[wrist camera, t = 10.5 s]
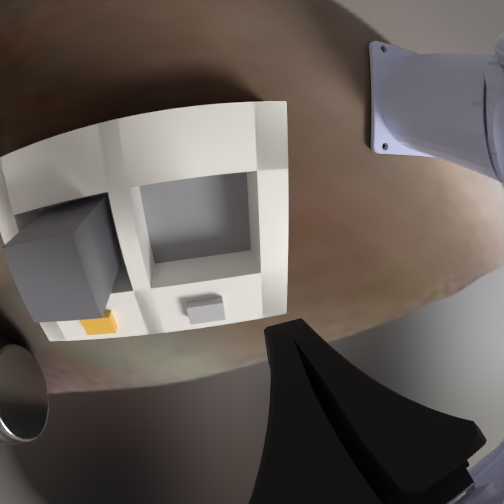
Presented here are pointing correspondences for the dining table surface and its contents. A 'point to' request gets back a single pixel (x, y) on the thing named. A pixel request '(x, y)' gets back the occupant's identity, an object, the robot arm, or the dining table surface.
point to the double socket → (170, 212)
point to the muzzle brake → (21, 395)
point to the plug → (66, 261)
